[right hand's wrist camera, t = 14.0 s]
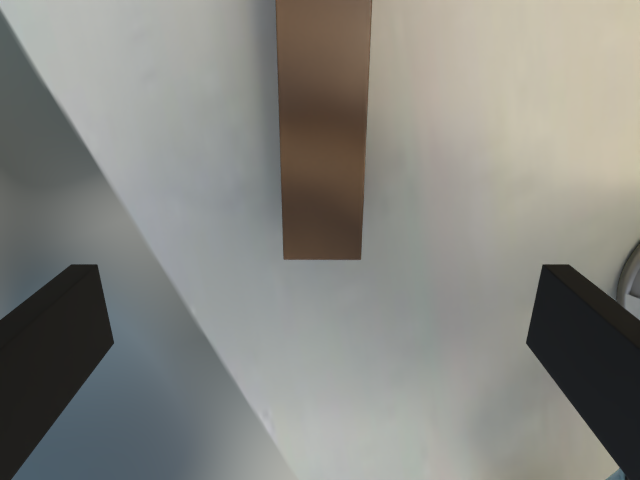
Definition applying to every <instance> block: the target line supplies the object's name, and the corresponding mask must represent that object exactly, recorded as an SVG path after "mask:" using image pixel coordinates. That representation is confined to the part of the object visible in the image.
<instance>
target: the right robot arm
mask: <svg viewBox="0 0 640 480" xmlns="http://www.w3.org/2000/svg"><path fill="white" fill-rule="evenodd" d="M113 344H114V341H113V336H112V331H111V327H110V322H109V317H108V312H107V308H106V303H105V298H104V294H103V289H102V284H101V280H100V275H99V270H98V265H70V266H69V267H67V268H66V269H65V270H64V271H62V272H61V273H60V274H59V275H57V276H56V277H55V278H53V279H52V280H51V281H50V282H48V283H47V284H46V285H45V286H43V287H42V288H41V289H39V290H38V291H37V292H36V293H34V294H33V295H32V296H31V297H29V298H28V299H27V300H25V301H24V302H23V303H22V304H20V305H19V306H18V307H16V308H15V309H14V310H13V311H11V312H10V313H9V314H8V315H6V316H5V317H4V318H2V319H1V320H0V480H11V479H12V478H13V476H14V475H15V474H16V472H17V471H18V470H19V468H20V467H21V466H22V464H23V463H24V462H25V460H26V459H27V458H28V457H29V455H30V454H31V453H32V451H33V450H34V449H35V447H36V446H37V445H38V443H39V442H40V441H41V439H42V438H43V437H44V435H45V434H46V433H47V431H48V430H49V429H50V427H51V426H52V425H53V423H54V422H55V421H56V419H57V418H58V417H59V415H60V414H61V413H62V411H63V410H64V409H65V407H66V406H67V405H68V403H69V402H70V401H71V399H72V398H73V397H74V395H75V394H76V393H77V392H78V390H79V389H80V388H81V386H82V385H83V383H84V382H85V381H86V380H87V378H88V377H89V376H90V374H91V373H92V372H93V370H94V369H95V368H96V366H97V365H98V364H99V362H100V361H101V360H102V358H103V357H104V356H105V354H106V353H107V352H108V350H109V349H110V348H111V346H112V345H113ZM526 344H527V345H528V346H529V348H530V349H531V350H532V352H533V353H534V354H535V356H536V357H537V358H538V360H539V361H540V362H541V364H542V365H543V366H544V368H545V369H546V370H547V372H548V373H549V374H550V376H551V377H552V378H553V380H554V381H555V382H556V384H557V385H558V386H559V388H560V389H561V390H562V392H563V393H564V394H565V395H566V397H567V398H568V399H569V401H570V402H571V403H572V405H573V406H574V407H575V409H576V410H577V411H578V413H579V414H580V415H581V417H582V418H583V419H584V421H585V422H586V423H587V425H588V426H589V427H590V429H591V430H592V431H593V433H594V434H595V435H596V437H597V438H598V439H599V441H600V442H601V443H602V445H603V446H604V447H605V449H606V450H607V451H608V453H609V454H610V455H611V457H612V458H613V459H614V461H615V462H616V463H617V464H618V466H619V467H620V468H619V469H618V470H617V471H616V472H615V473H613V474H612V475H611V476H610V477H608V478H607V479H606V480H640V244H639V245H638V246H637V247H636V249H635V250H634V251H633V253H632V254H631V256H630V257H629V259H628V261H627V262H626V265H625V267H624V269H623V271H622V274H621V276H620V280H619V283H618V289H617V302H616V301H615V300H613V299H612V298H611V297H610V296H608V295H607V294H606V293H604V292H603V291H602V290H601V289H599V288H598V287H597V286H595V285H594V284H593V283H592V282H590V281H589V280H588V279H587V278H585V277H584V276H583V275H581V274H580V273H579V272H578V271H576V270H575V269H574V268H573V267H571V266H570V265H542V270H541V275H540V280H539V284H538V289H537V294H536V298H535V303H534V308H533V312H532V317H531V322H530V326H529V331H528V336H527V341H526Z"/></svg>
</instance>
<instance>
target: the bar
mask: <svg viewBox="0 0 640 480" xmlns="http://www.w3.org/2000/svg"><path fill="white" fill-rule="evenodd" d="M371 13H372V0H276V30H277V63H278V95H279V127H280V159H281V192H282V224H283V256H284V260H361V247H362V223H363V200H364V176H365V153H366V130H367V106H368V83H369V60H370V36H371Z"/></svg>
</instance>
